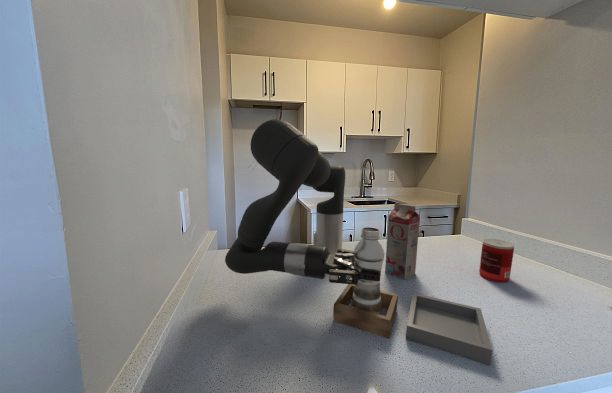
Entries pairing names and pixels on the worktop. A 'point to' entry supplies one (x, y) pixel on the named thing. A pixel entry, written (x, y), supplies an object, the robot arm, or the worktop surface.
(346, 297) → the open wooden box
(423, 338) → the tray
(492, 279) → the canned food
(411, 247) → the juice carton
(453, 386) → the worktop surface
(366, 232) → the plastic bottle
